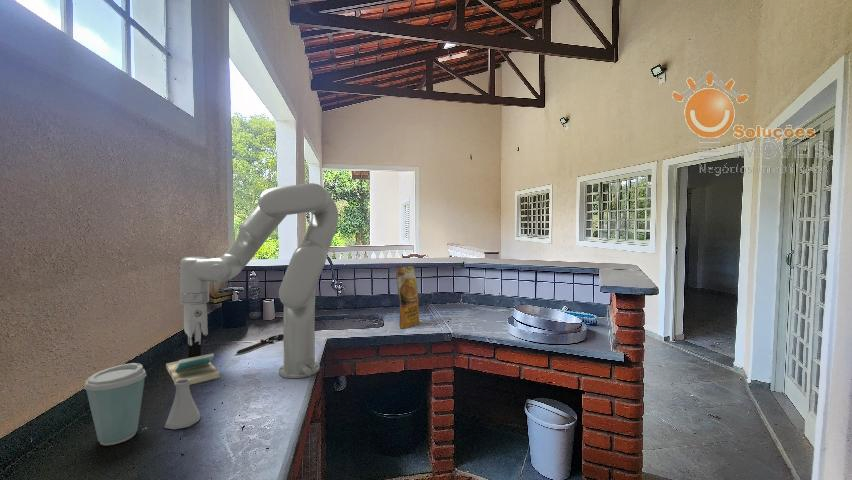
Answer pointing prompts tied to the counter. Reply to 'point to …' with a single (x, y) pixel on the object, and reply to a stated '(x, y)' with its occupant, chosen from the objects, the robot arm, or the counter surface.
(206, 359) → the tile
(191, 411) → the flask
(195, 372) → the board
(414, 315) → the pancake mix bag
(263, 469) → the counter surface
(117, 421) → the disposable coffee cup
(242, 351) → the knife
